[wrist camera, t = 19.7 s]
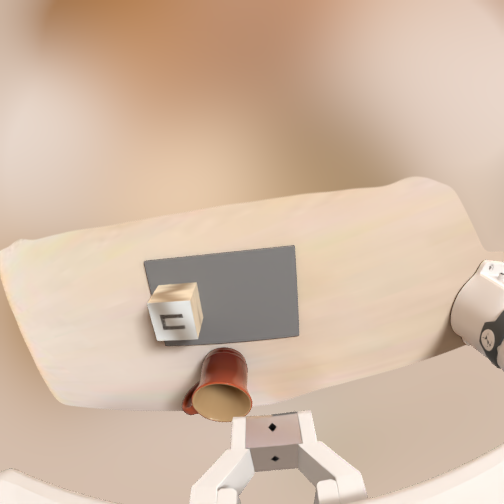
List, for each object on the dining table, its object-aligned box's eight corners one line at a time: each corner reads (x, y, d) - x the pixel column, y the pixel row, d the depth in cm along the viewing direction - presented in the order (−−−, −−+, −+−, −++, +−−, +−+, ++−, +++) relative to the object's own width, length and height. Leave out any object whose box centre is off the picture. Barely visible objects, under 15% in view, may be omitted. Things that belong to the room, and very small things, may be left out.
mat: (294, 245, 43) (294, 246, 43) (298, 333, 48) (299, 335, 48) (144, 260, 44) (143, 261, 43) (166, 344, 49) (165, 345, 48)
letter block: (146, 303, 39) (158, 285, 45) (157, 340, 41) (166, 319, 46) (189, 301, 39) (196, 282, 44) (197, 339, 41) (203, 317, 46)
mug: (232, 332, 48) (229, 374, 38) (260, 367, 50) (263, 410, 41) (175, 360, 50) (162, 401, 40) (204, 392, 52) (198, 433, 42)
